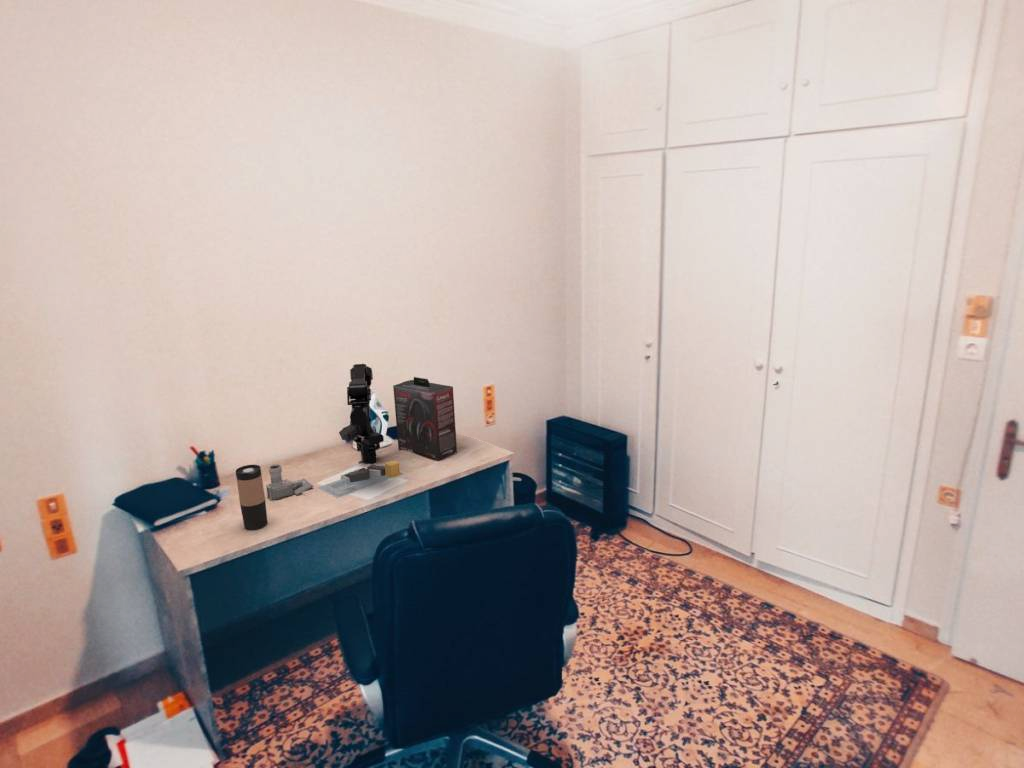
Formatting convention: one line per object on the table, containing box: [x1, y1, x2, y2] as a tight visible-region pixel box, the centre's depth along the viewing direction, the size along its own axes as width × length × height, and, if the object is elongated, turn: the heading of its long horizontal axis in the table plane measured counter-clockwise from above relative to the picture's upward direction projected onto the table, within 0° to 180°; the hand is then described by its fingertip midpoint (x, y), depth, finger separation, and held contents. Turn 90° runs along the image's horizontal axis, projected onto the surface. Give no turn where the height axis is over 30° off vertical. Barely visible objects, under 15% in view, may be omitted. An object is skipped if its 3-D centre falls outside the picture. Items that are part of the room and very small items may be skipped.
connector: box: [384, 460, 401, 479], centre depth 239 cm, size 4×4×5 cm
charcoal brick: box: [348, 468, 369, 483], centre depth 236 cm, size 3×7×3 cm, turn 114°
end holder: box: [326, 480, 356, 496], centre depth 227 cm, size 8×7×2 cm
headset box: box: [392, 376, 458, 461], centre depth 262 cm, size 25×12×33 cm, turn 53°
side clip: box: [340, 467, 371, 485], centre depth 236 cm, size 5×10×2 cm, turn 136°
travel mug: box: [235, 464, 268, 531], centre depth 201 cm, size 8×8×20 cm
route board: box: [317, 464, 404, 499], centre depth 235 cm, size 14×29×4 cm, turn 136°
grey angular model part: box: [265, 464, 314, 501], centre depth 227 cm, size 9×12×15 cm
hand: (364, 456), depth 230 cm, fingers closed
